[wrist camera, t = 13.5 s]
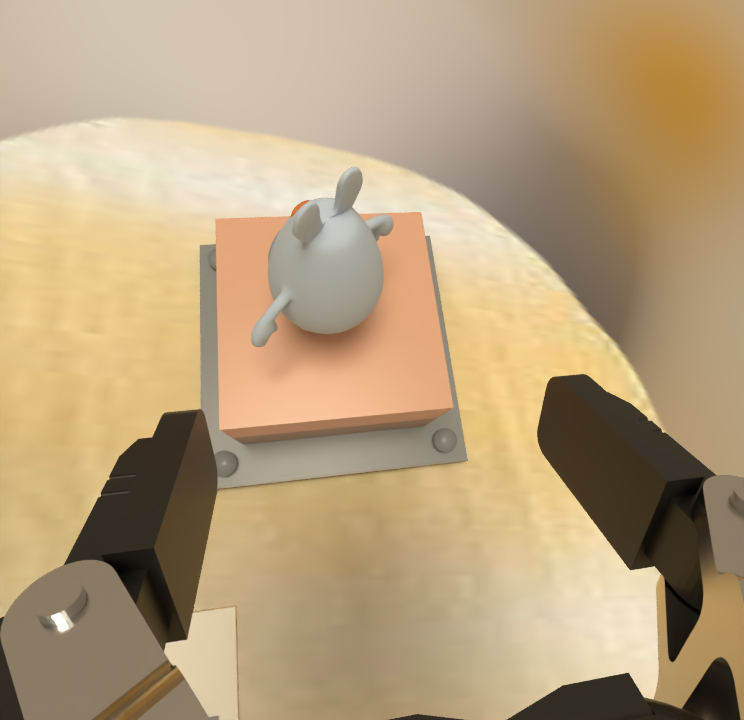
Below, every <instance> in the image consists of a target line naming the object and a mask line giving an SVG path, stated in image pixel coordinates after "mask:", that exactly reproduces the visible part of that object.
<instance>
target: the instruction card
mask: <svg viewBox="0 0 744 720" xmlns="http://www.w3.org/2000/svg"><path fill="white" fill-rule="evenodd" d="M164 653H165V655H166V656H167V658H168V660H169V661H170V663H171V664H172V665H173V666H174V665H176V666H177V668H178V669H179V670H180V672H181V673H182V674H183V676H184V677H185V679H186V681H187V682H188V684H189V685H190V687H191V689H192V690H193V692H194V694H195V695H196V697H197V699H198V700H199V702H200V704H201V705H202V707H203V708H204V710H205V712H206V713H207V715H208V717H209V718H210V720H239V712H238V673H237V633H236V606H232V607H225V608H219V609H212V610H205V611H198V612H193V614H192V619H191V624H190V629H189V634H188V639H187V640H182V641H176V642H169V643H166V645H165V650H164Z"/></svg>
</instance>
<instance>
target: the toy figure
mask: <svg viewBox="0 0 744 720" xmlns="http://www.w3.org/2000/svg"><path fill="white" fill-rule="evenodd" d="M362 181H363V180H362V173H361V171H360V169H359V168H357V167H352V168H350V169H348V170H347V171H346V172H345V173H344V174H343V175H342V176H341V178H340V180H339V182H338V185H337V190H336V197H335V199H333V198H319V199H315V200H312V201H309V200H307V201H304V202H302V203H300V204H298V205H297V206H296V207H295V208H294V210H293V212H292V214H291V217H290V218H289V219H288V220H287V222H286V223H285V224H284V226H283V227H282V228H281V230H280V231H279V232H278V233H277V235H276V236H275V238H274V240H273V242H272V244H271V247H270V250H269V255H268V283H269V288H270V291H271V294H272V297H273V299H274V302H273V303H272V304H271V305H270V306H269V308H268V309H267V310H266V312H265V313H264V314H263V316H262V317H261V318H260V319H259V320H258V321H257V322H256V324H255V326H254V328H253V330H252V333H251V343H252V345H253V346H255V347H263V346H264V345H266V343H267V342H268V339H269V337H270V336H271V335H272V333H273V332H276V331H277V329H278V327H277V323H276V322H275V319H276V317H277V316H278V315H279V313H280V312H282V313H283V315H284V316H285V317H286V318H287V319H289V320H290V321H291V322H292V323H294V324H295V325H297V326H299V327H300V328H301V329H303V330H305V331H310V332H314V333H320V334H334V333H339V332H343V331H346V330H349V329H351V328H353V327H355V326H357V325H358V324H360V323H361V322H362V321H363V320H365V319H366V318H367V317H368V316H369V314H370V313H371V312H372V311H373V309H374V308H375V306H376V304H377V302H378V300H379V298H380V295H381V292H382V288H383V280H384V269H383V262H382V257H381V253H380V250H379V247H378V244H377V242H376V241H378V240H379V237H380V236H387V235H388V234H390V233H391V231H392V229H393V225H394V222H393V219H392V217H391V216H389V215H386V214H381V215H379V216H375V217H373V218H371V219H369V220H367V221H364V220H363V218H362V217H361V216H360V215H359V214H358V213H357V212H356V211H355V210H354V209H353V208H352V206H353V204H354V202H355V200H356V197H357V195H358V193H359V191H360V189H361V186H362ZM371 231H372V232H371Z"/></svg>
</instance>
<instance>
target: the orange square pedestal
mask: <svg viewBox="0 0 744 720" xmlns="http://www.w3.org/2000/svg"><path fill="white" fill-rule="evenodd" d="M381 214H386V215H389V216H391V217H392V219H393V222H394V225H393V229H392V231H391V233H390V234H388V235H387V236H380V237H379V240H378V241H376V242H377V244H378V247H379V250H380V253H381V257H382V262H383V269H384V280H383V288H382V292H381V295H380V298H379V300H378V302H377V304H376V306H375V308H374V309H373V311H372V312H371V313H370V314H369V316H368V317H367V318H366V319H365V320H363V321H362V322H361V323H360V324H358V325H357V326H355V327H353V328H351V329H349V330H346V331H343V332H339V333H334V334H320V333H314V332H310V331H305V330H303V329H301V328H300V327H299V326H297V325H295V324H294V323H292V322H291V321H290V320H289V319H287V318H286V317H285V316H284V315H283V313H282V312H280V313H279V315H278V316H277V317H276V319H275V322H276V323H277V327H278V329H277V331H276V332H273V333H272V335H271V336H270V337H269V339H268V342H267V343H266V345H264V346H263V347H255V346H253V345H252V343H251V333H252V330H253V328H254V326H255V324H256V322H257V321H258V320H259V319H260V318H261V317H262V316H263V314H264V313H265V312H266V310H267V309H268V308H269V306H270V305H271V304H272V303H273V302H274V299H273V297H272V294H271V291H270V288H269V283H268V255H269V250H270V247H271V244H272V242H273V240H274V238H275V236H276V235H277V233H278V232H279V231H280V230H281V228H282V227H283V226H284V224H285V223H286V222H287V220H288V219H289V218H290V217H291V216H289V217H258V218H228V219H216V244H215V245H200V335H201V410H202V411H203V412H204V414H205V418H206V422H207V426H208V430H209V435H210V439H211V443H212V447H213V452H214V456H215V460H216V465H217V475H218V485H217V489H224V488H233V487H242V486H251V485H260V484H268V483H277V482H286V481H295V480H304V479H313V478H321V477H330V476H339V475H348V474H357V473H366V472H374V471H383V470H392V469H401V468H410V467H419V466H428V465H436V464H445V463H454V462H463V461H468V460H467V454H466V448H465V442H464V436H463V430H462V424H461V418H460V413H459V407H458V401H457V395H456V389H455V383H454V377H453V371H452V365H451V359H450V353H449V347H448V341H447V335H446V329H445V324H444V318H443V312H442V306H441V300H440V294H439V288H438V282H437V276H436V270H435V264H434V258H433V252H432V246H431V240H430V236H425V232H424V226H423V220H422V214H421V212H411V213H380V214H359V215H360V216H361V217H362V218H363V220H364V221H367V220H369V219H371V218H373V217H375V216H379V215H381ZM371 232H372V231H371Z"/></svg>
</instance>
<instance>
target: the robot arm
mask: <svg viewBox="0 0 744 720" xmlns="http://www.w3.org/2000/svg"><path fill="white" fill-rule="evenodd" d="M537 437H538V443H539V446H540V449H541V451H542V453H543V455H544V456H545V458H546V459H547V460H548V462H549V463H550V464H551V466H552V467H553V468H554V470H555V471H556V472H557V474H558V475H559V476H560V478H561V479H562V480H563V482H564V483H565V484H566V486H567V487H568V488H569V490H570V491H571V492H572V494H573V495H574V496H575V498H576V499H577V500H578V502H579V503H580V504H581V505H582V507H583V508H584V509H585V511H586V512H587V513H588V515H589V516H590V517H591V519H592V520H593V521H594V523H595V524H596V525H597V527H598V528H599V529H600V531H601V532H602V533H603V535H604V536H605V537H606V539H607V540H608V541H609V543H610V544H611V545H612V547H613V548H614V549H615V551H616V552H617V553H618V555H619V556H620V557H621V559H622V560H623V561H624V563H625V564H626V565H627V567H628V568H629V569H630V570H634V569H641V568H647V567H653V566H655V567H656V568H657V570H658V571H659V572H660V573H661V575H660V577H659V579H658V581H657V586H656V595H657V627H658V660H659V675H658V683H657V688H656V692H655V696H654V700H652V699H648V698H644V697H643V696H642V694H641V693H640V691H639V689H638V688H637V686H636V684H635V683H634V681H633V679H632V678H631V676H630V674H629V673H625V674H620V675H614V676H609V677H604V678H599V679H594V680H589V681H584V682H579V683H574V684H569V685H563V686H561V687H560V688H558V689H556V690H555V691H553V692H552V693H550V694H548V695H547V696H545V697H543V698H542V699H540V700H538V701H537V702H535V703H534V704H532V705H530V706H529V707H527V708H525V709H524V710H522V711H520V712H519V713H517V714H516V715H514V716H512V717H511V718H509V719H507V720H744V478H742V477H737V476H731V475H718V476H717V475H715V474H714V473H713V472H712V471H711V470H709V469H708V468H707V467H706V466H705V465H703V464H702V463H701V462H700V461H699V460H697V459H696V458H695V457H694V456H692V455H691V454H690V453H689V452H688V451H686V450H685V449H684V448H683V447H682V446H681V445H679V444H678V443H677V442H676V441H675V440H674V439H672V438H671V437H670V436H669V435H668V434H666V433H662V429H660V428H659V427H658V426H657V425H656V424H654V423H653V422H652V421H648V418H647V417H646V416H645V415H644V414H642V413H641V412H640V411H639V410H638V409H637V408H635V407H634V406H633V405H632V404H630V403H628V402H626V401H624V400H622V399H620V398H619V397H617V396H615V395H613V394H611V393H609V392H606V391H605V390H604V389H603V388H602V387H601V386H599V385H598V384H597V383H596V382H595V381H594V380H592V379H591V378H590V377H589V376H587V375H585V374H579V375H569V376H558V377H553V378H551V379H550V380H549V382H548V384H547V387H546V392H545V397H544V401H543V406H542V411H541V415H540V420H539V425H538V430H537ZM109 477H110V479H109V480H107V482H106V484H105V486H104V488H103V490H102V492H101V497H98V499H97V501H96V503H95V505H94V507H93V509H92V511H91V513H90V515H89V517H88V519H87V521H86V523H85V525H84V527H83V529H82V531H81V533H80V535H79V537H78V538H77V540H76V542H75V544H74V546H73V548H72V550H71V552H70V554H69V556H68V558H67V560H66V562H65V564H64V566H61V567H59V568H57V569H55V570H53V571H51V572H49V573H47V574H46V575H44V576H42V577H41V578H39V579H38V580H37V581H35V582H34V583H33V584H31V585H30V586H29V587H28V588H27V589H26V590H25V591H23V592H22V593H21V594H20V596H19V597H18V598H17V599H16V600H15V601H14V603H13V604H12V605H11V607H10V608H9V610H8V611H7V613H6V615H5V616H4V617H2V618H0V720H210V718H209V717H208V715H207V713H206V712H205V710H204V708H203V707H202V705H201V704H200V702H199V700H198V699H197V697H196V695H195V694H194V692H193V690H192V689H191V687H190V685H189V684H188V682H187V681H186V679H185V677H184V676H183V674H182V673H181V672H180V670H179V669H178V668H177V666H176V665H174V666H173V665H172V664H171V663H170V661H169V660H168V658H167V656H166V655H165V653H164V650H165V645H166V643H169V642H176V641H182V640H187V639H188V634H189V629H190V624H191V619H192V614H193V609H194V604H195V599H196V594H197V589H198V584H199V579H200V574H201V569H202V564H203V559H204V554H205V549H206V544H207V539H208V534H209V529H210V524H211V519H212V514H213V509H214V504H215V499H216V494H217V485H218V475H217V465H216V460H215V456H214V452H213V447H212V443H211V439H210V435H209V430H208V426H207V422H206V418H205V414H204V412H203V411H202V410H201V409H198V410H188V411H177V412H167V413H164V414H163V415H162V417H161V419H160V421H159V424H158V426H157V428H156V431H155V433H154V435H153V437H152V438H143V439H138V440H137V441H136V442H135V443H134V444H132V445H131V446H130V447H129V448H128V449H127V450H126V451H125V452H124V453H123V454H122V455H121V456H119V458H118V460H117V462H116V464H115V466H114V468H113V470H112V472H111V474H110V476H109ZM390 720H462V719H454V718H445V717H437V716H428V715H420V714H416V715H411V716H405V717H400V718H395V719H390Z"/></svg>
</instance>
